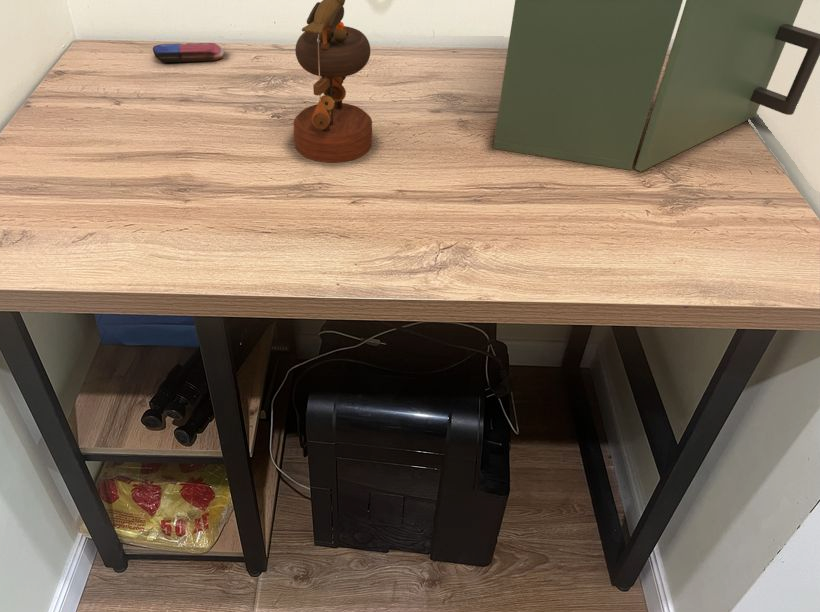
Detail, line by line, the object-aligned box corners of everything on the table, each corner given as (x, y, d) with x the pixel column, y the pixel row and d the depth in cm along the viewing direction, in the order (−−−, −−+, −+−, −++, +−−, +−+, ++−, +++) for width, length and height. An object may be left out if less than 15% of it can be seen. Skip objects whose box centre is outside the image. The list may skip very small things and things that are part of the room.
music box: (373, 170, 92) (361, 6, 78) (289, 173, 93) (263, 12, 79) (379, 116, 103) (369, -36, 89) (303, 119, 104) (283, -30, 90)
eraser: (223, 51, 120) (222, 41, 119) (224, 61, 117) (223, 50, 116) (154, 53, 118) (153, 42, 117) (153, 63, 115) (152, 52, 114)
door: (793, 132, 100) (882, -62, 83) (679, 191, 88) (756, -20, 71) (748, 114, 104) (825, -74, 87) (634, 168, 92) (697, -36, 75)
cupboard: (639, 88, 110) (691, -94, 93) (631, 170, 92) (694, -37, 75) (522, 72, 114) (552, -105, 97) (492, 148, 96) (523, -53, 79)
